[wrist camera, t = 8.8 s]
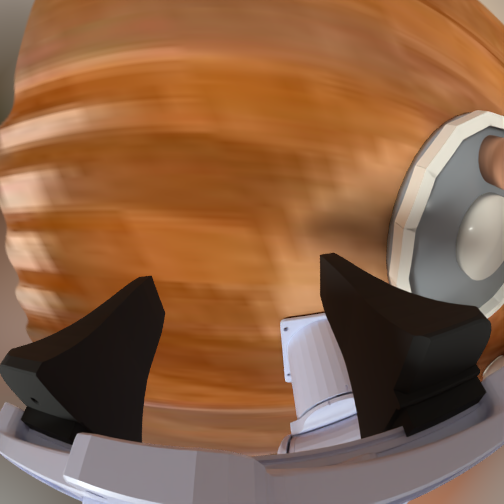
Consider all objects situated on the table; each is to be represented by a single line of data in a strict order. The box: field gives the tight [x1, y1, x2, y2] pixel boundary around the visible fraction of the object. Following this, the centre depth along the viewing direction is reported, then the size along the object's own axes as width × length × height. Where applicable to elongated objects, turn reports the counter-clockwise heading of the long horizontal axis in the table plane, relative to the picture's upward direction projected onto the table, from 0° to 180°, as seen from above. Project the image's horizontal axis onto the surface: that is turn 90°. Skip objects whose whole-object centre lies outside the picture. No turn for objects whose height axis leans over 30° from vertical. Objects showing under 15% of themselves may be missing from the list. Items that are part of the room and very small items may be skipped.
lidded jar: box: [482, 355, 504, 381], centre depth 29 cm, size 11×11×9 cm
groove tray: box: [386, 110, 504, 319], centre depth 19 cm, size 24×24×2 cm
